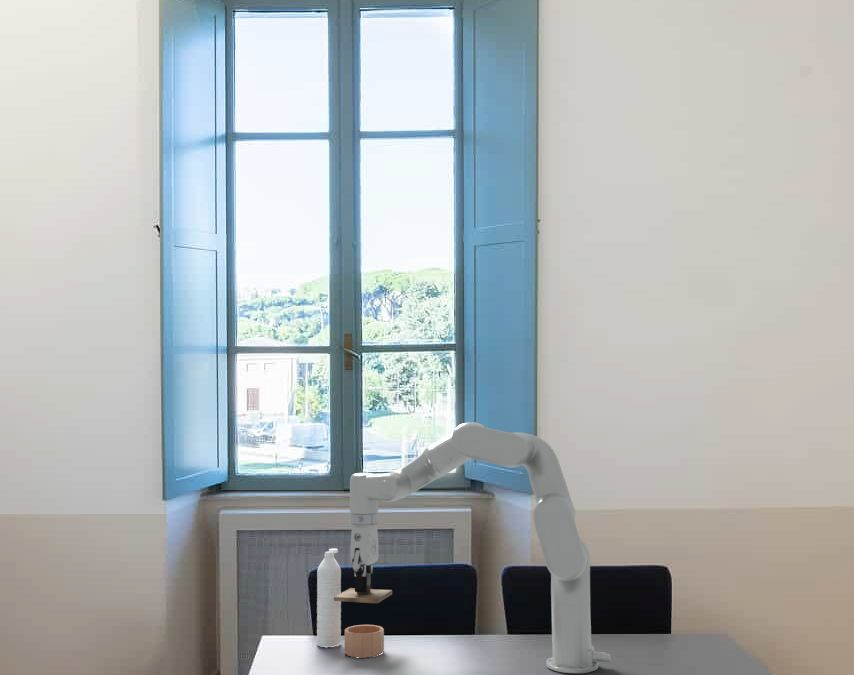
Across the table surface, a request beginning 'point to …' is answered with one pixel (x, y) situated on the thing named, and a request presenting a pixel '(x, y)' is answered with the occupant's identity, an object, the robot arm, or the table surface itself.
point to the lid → (363, 594)
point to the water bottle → (328, 601)
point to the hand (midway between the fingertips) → (363, 589)
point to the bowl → (364, 641)
